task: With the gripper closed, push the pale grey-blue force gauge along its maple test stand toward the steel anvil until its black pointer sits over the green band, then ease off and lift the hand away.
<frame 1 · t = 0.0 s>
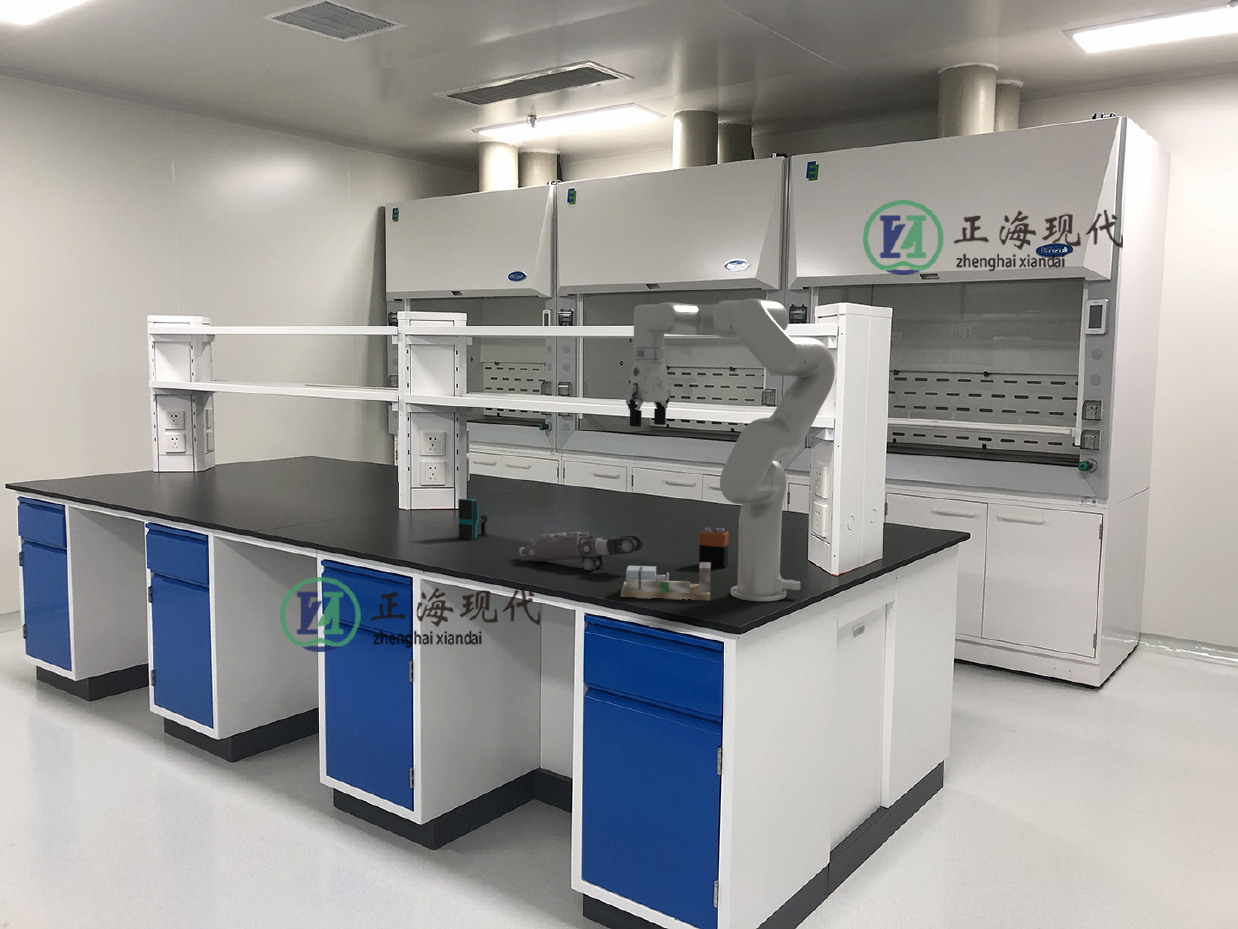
hand: (647, 425, 230), 37 cm above the worktop, tool pointing down, fingers open, 9 cm apart
gauge stand: (666, 594, 214), on the worktop
black teal case: (475, 537, 281), on the worktop
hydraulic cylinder: (577, 567, 242), on the worktop
force gauge: (647, 577, 213), point 4 cm above the worktop, slide at 0.0 cm
battery: (713, 566, 244), on the worktop
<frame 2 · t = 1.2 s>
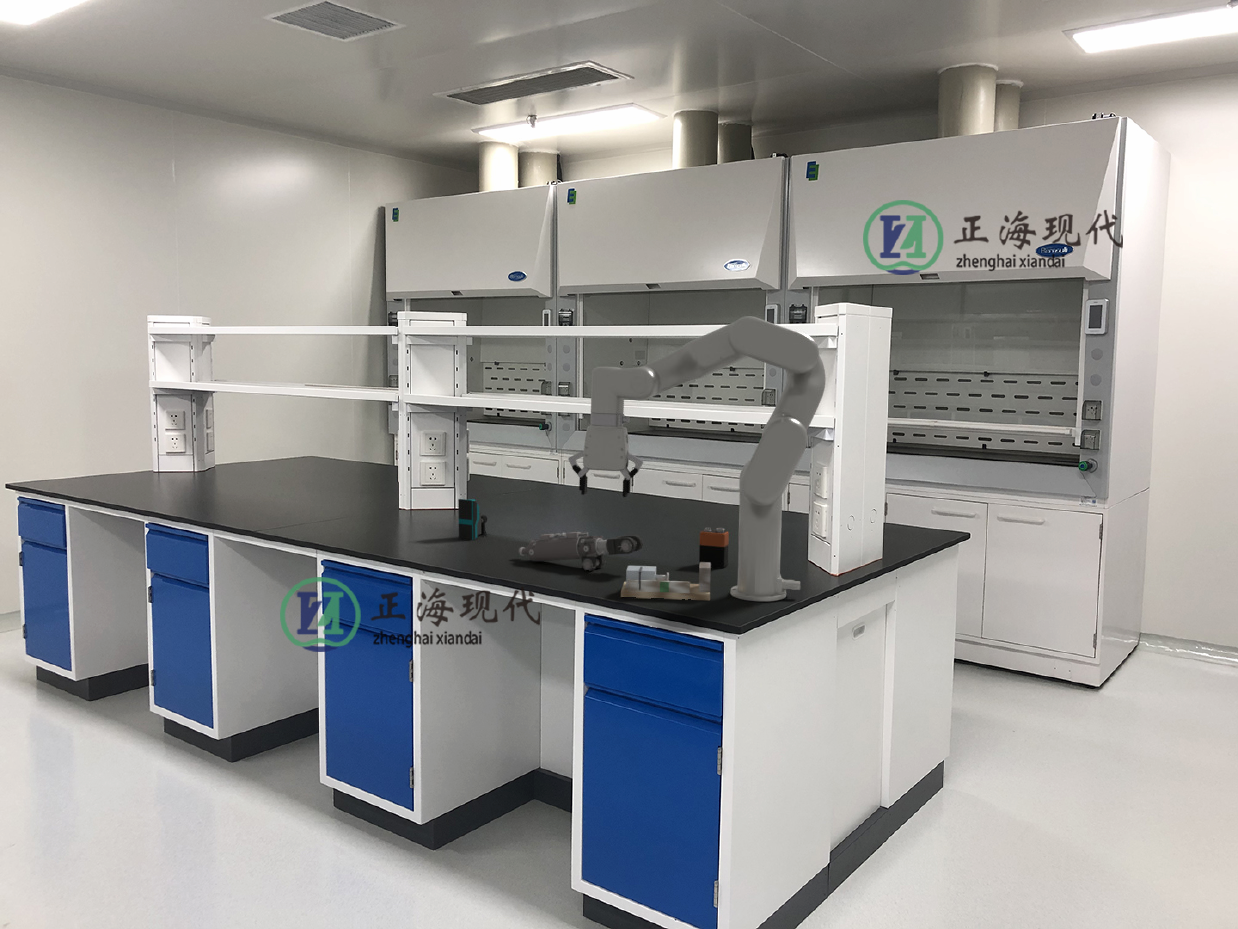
hand: (604, 495, 215), 22 cm above the worktop, tool pointing down, fingers open, 9 cm apart
nothing on the worktop moved.
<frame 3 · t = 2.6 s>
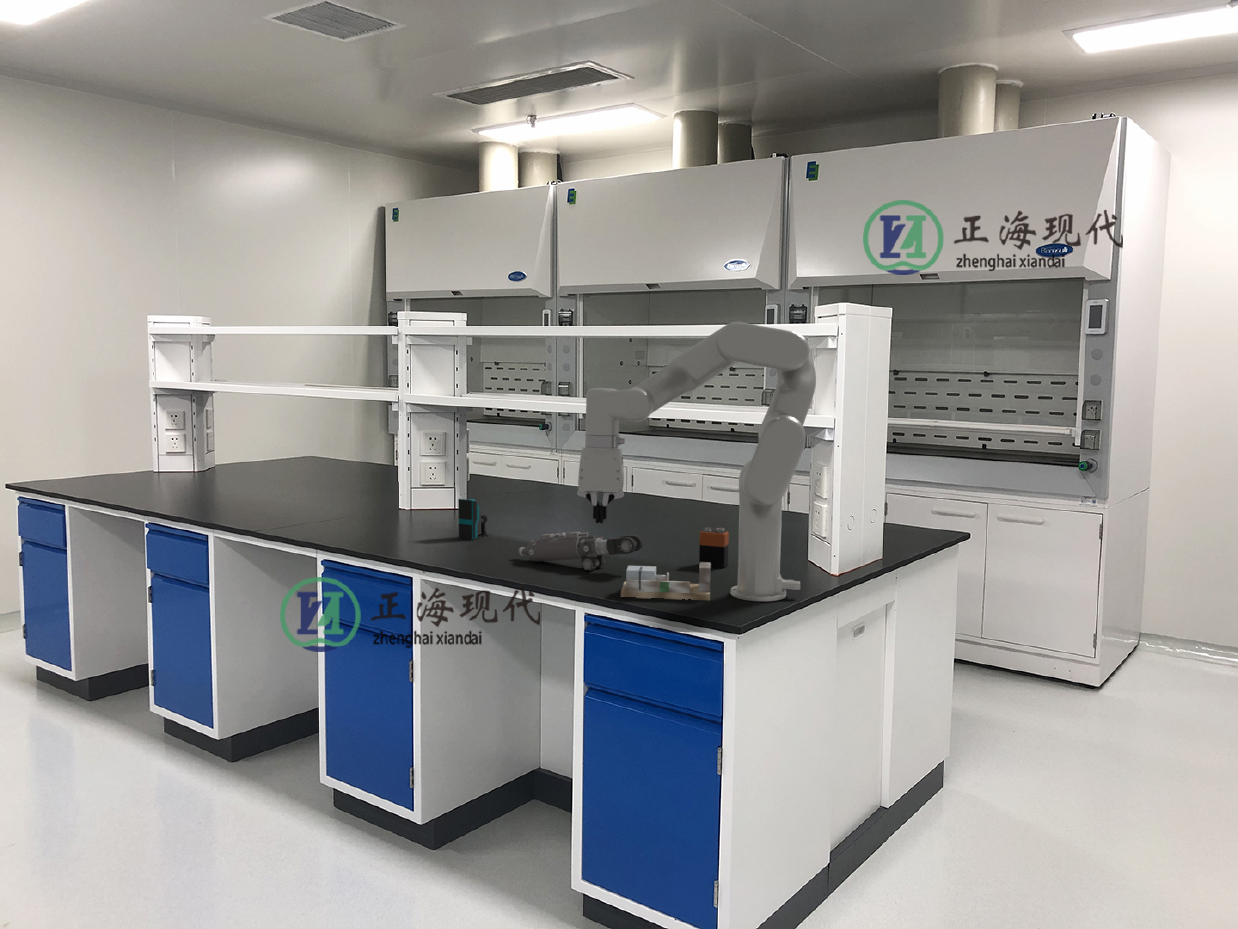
hand: (599, 522, 214), 16 cm above the worktop, tool pointing down, fingers closed
nothing on the worktop moved.
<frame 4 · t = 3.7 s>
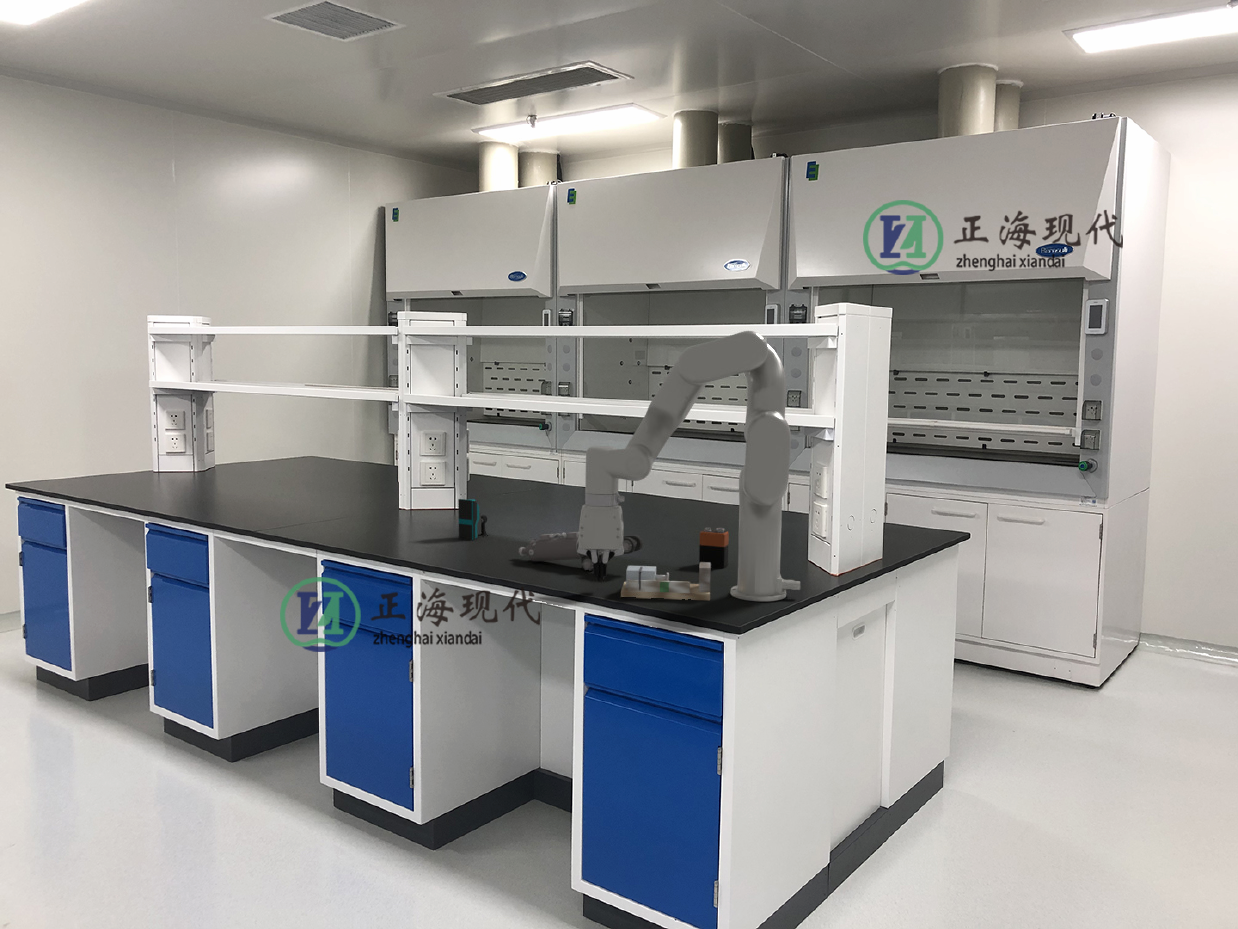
hand: (600, 578, 215), 3 cm above the worktop, tool pointing down, fingers closed
nothing on the worktop moved.
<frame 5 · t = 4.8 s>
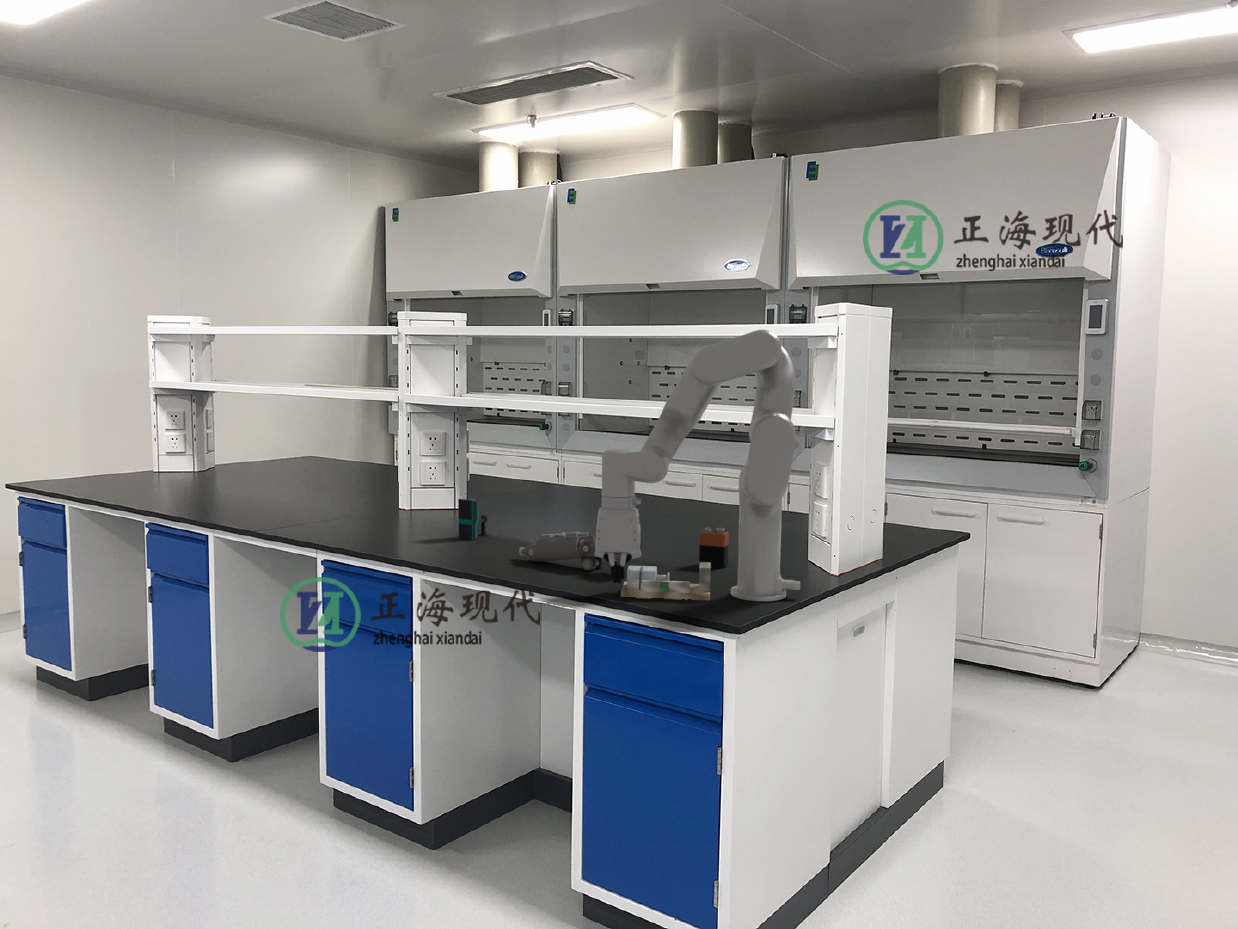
hand: (617, 581, 215), 2 cm above the worktop, tool pointing down, fingers closed
force gauge: (648, 577, 213), point 4 cm above the worktop, slide at 0.2 cm, touching gripper
everything else where it was.
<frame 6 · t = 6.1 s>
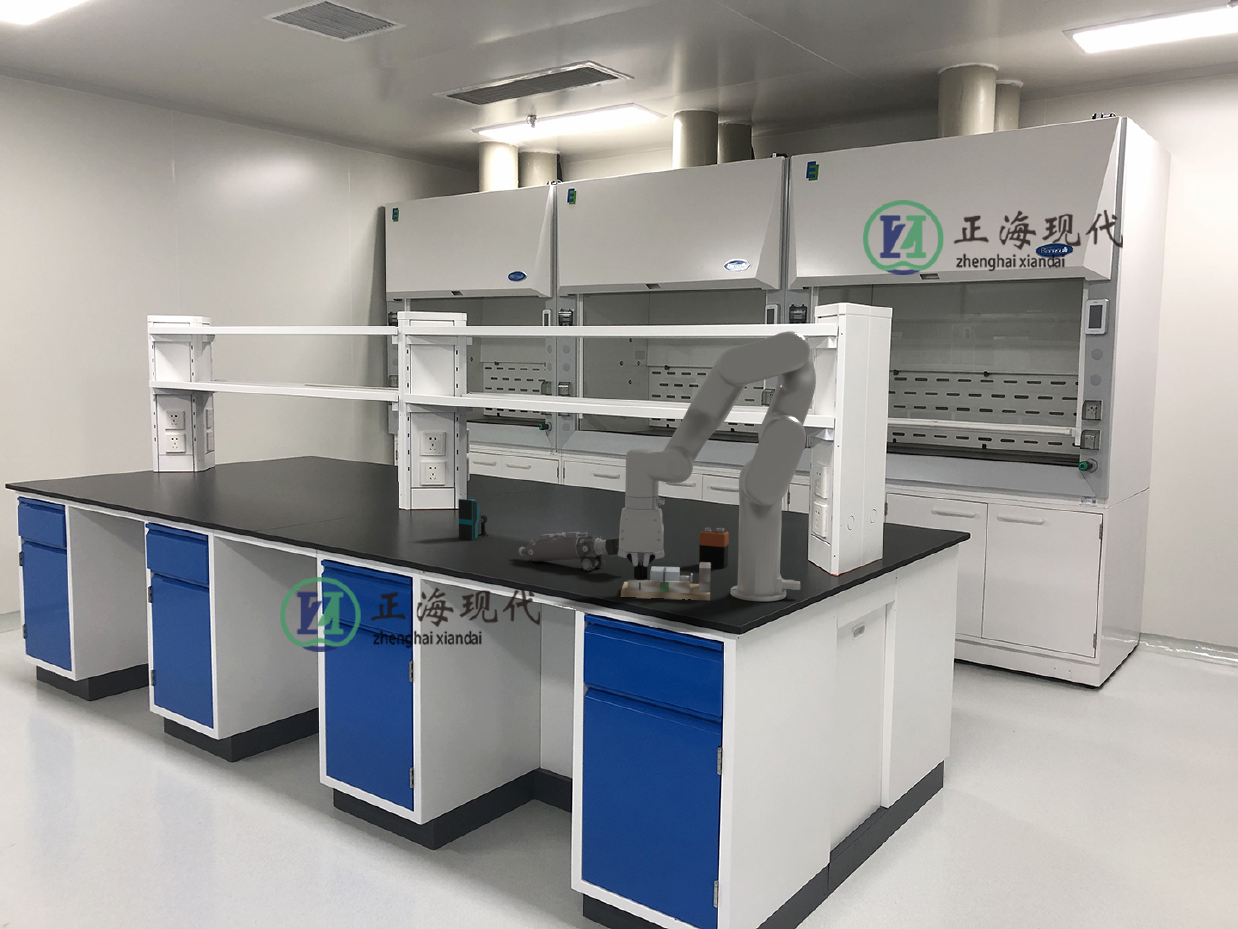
hand: (640, 582, 215), 3 cm above the worktop, tool pointing down, fingers closed
force gauge: (671, 578, 212), point 4 cm above the worktop, slide at 5.4 cm, touching gripper
everything else where it was.
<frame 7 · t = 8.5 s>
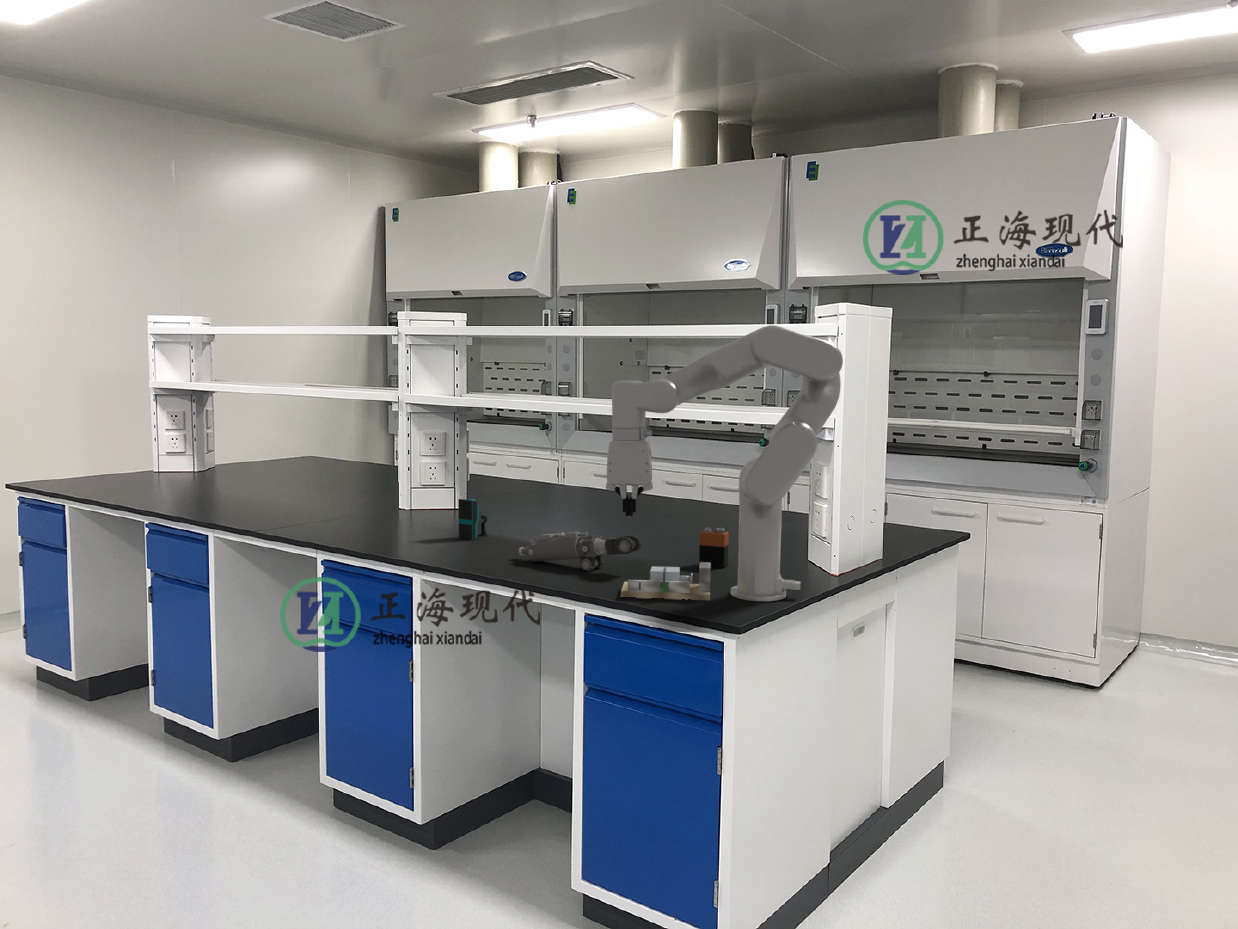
hand: (629, 515, 213), 18 cm above the worktop, tool pointing down, fingers closed
force gauge: (671, 578, 212), point 4 cm above the worktop, slide at 5.4 cm
everything else where it was.
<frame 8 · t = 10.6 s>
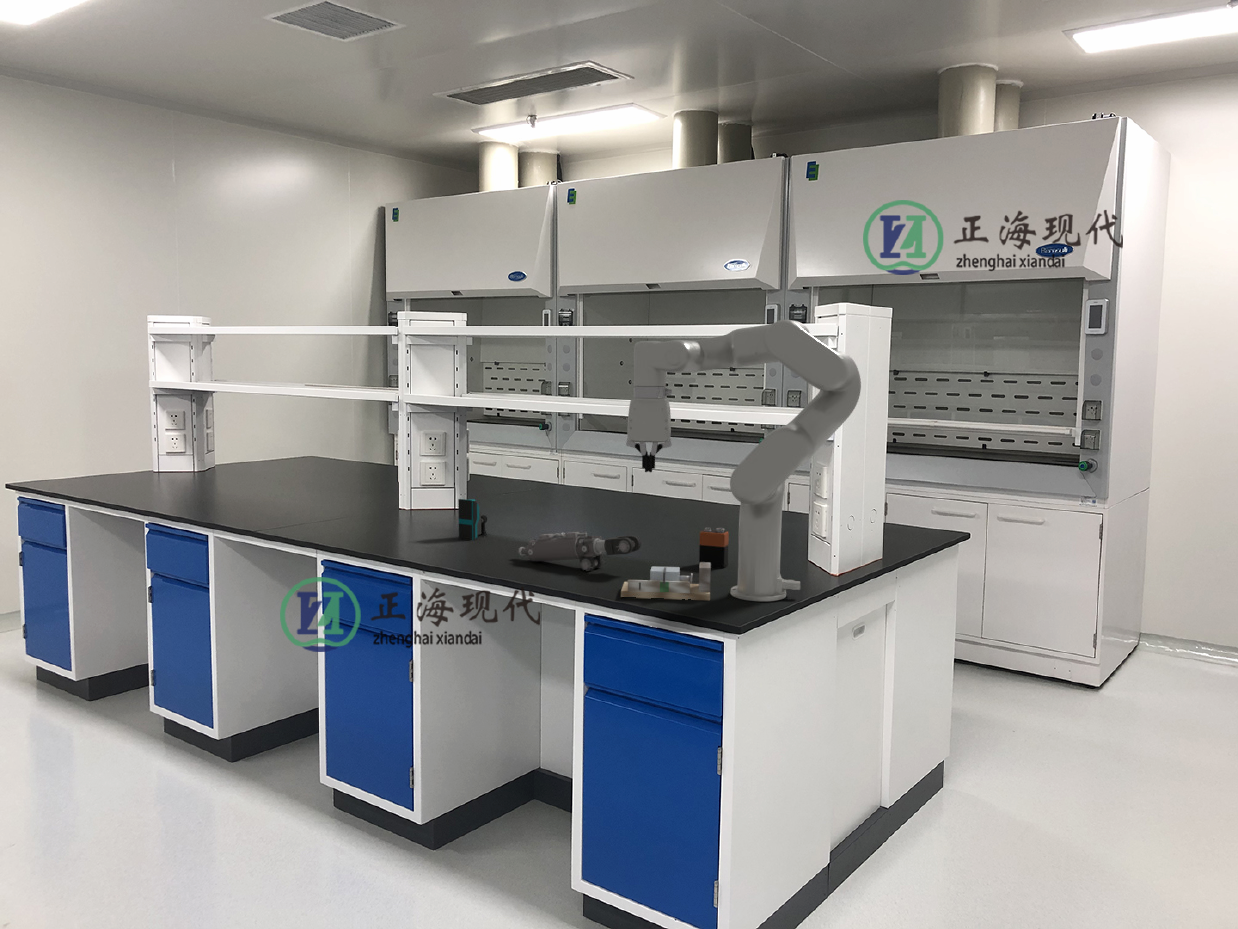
hand: (648, 471, 221), 27 cm above the worktop, tool pointing down, fingers closed
nothing on the worktop moved.
at the end: force gauge slide at 5.4 cm; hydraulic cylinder moved 0.6 cm from its start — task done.
